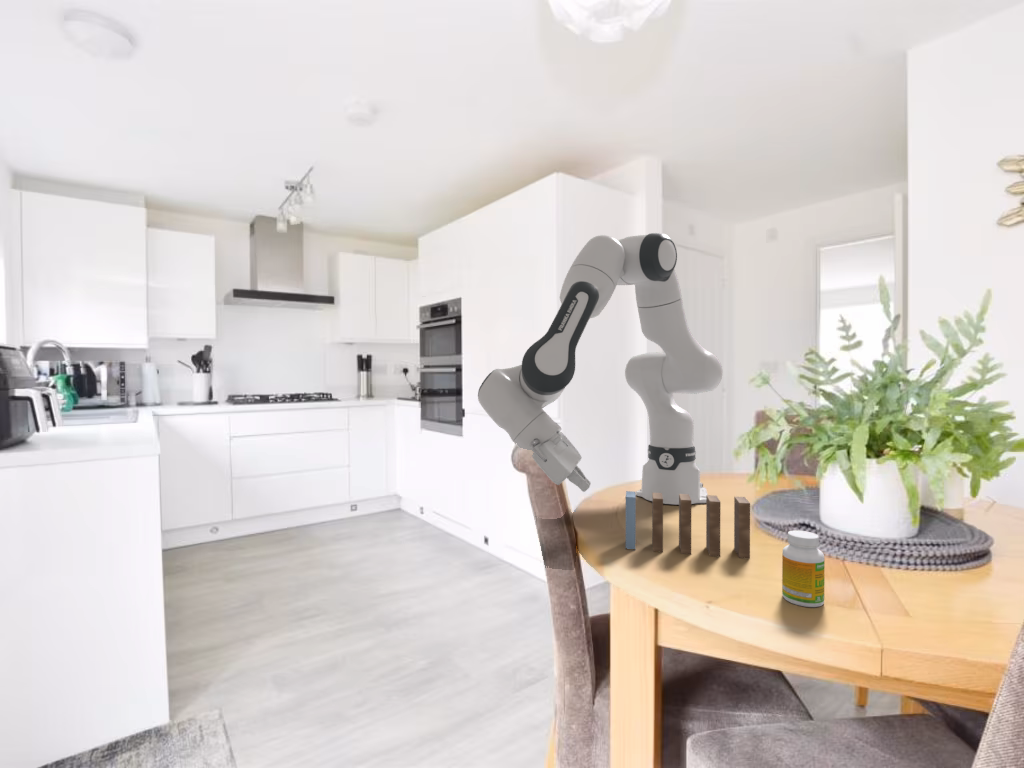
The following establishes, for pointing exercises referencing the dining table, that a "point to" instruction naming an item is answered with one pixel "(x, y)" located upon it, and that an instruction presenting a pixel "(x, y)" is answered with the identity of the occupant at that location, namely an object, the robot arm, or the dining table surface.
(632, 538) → the domino
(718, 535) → the domino
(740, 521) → the domino
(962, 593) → the dining table surface
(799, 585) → the supplement bottle
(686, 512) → the domino
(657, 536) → the domino
